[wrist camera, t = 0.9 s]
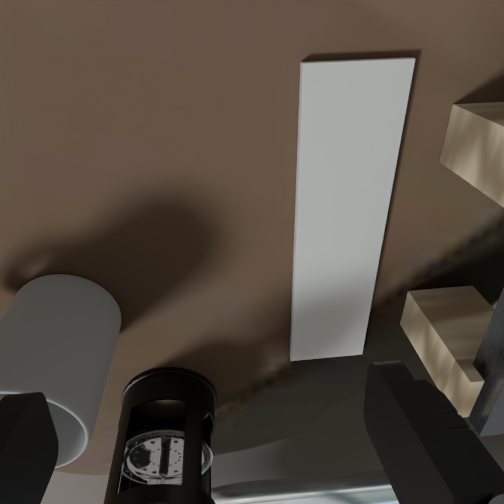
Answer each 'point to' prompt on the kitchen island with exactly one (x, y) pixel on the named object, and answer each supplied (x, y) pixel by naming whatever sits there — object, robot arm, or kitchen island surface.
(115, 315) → the mug
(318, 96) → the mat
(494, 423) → the rail
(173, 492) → the french press
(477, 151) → the post
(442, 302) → the post
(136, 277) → the kitchen island surface
